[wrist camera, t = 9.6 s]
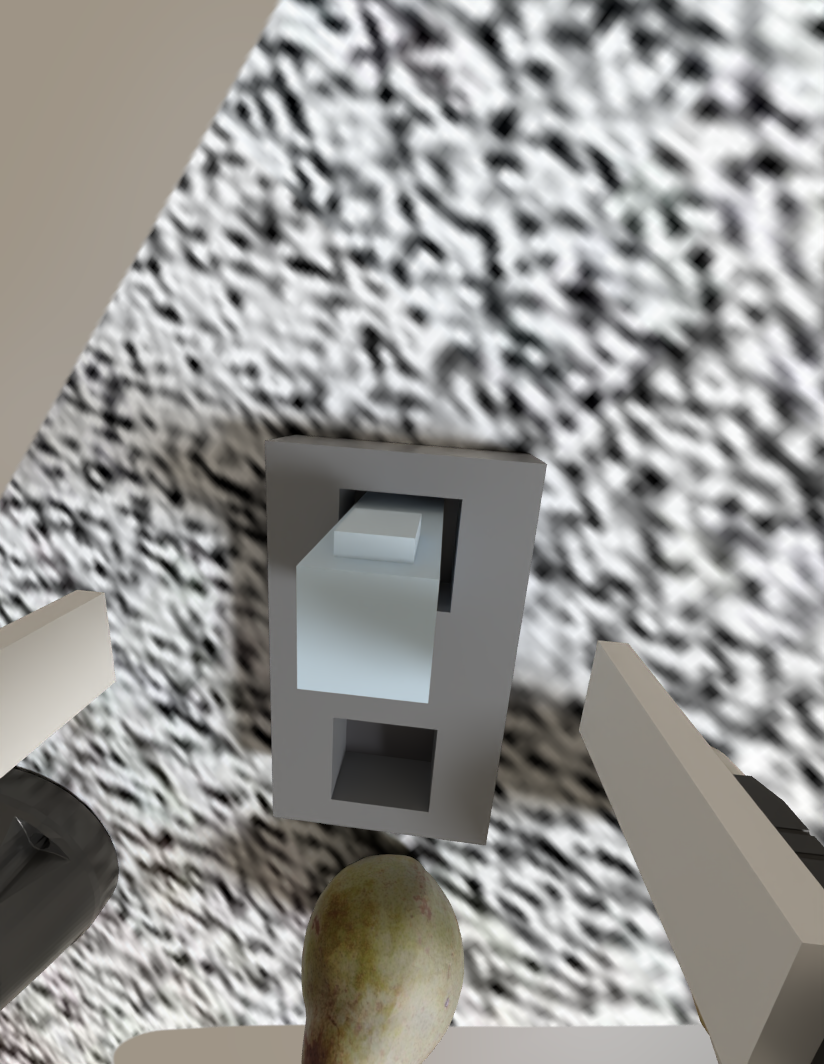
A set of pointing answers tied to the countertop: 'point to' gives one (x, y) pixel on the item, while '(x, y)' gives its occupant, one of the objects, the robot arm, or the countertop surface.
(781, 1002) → the robot arm
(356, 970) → the fruit
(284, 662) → the socket panel
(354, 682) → the plug
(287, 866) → the countertop surface
